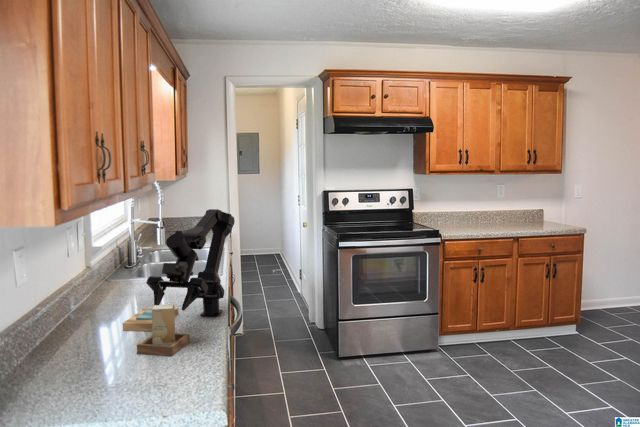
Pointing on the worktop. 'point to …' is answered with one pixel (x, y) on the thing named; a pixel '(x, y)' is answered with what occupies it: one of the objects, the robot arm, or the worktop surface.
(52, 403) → the worktop surface
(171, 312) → the skincare box
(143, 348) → the tray
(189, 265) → the robot arm
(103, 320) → the worktop surface
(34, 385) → the worktop surface
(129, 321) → the shallow wooden box
